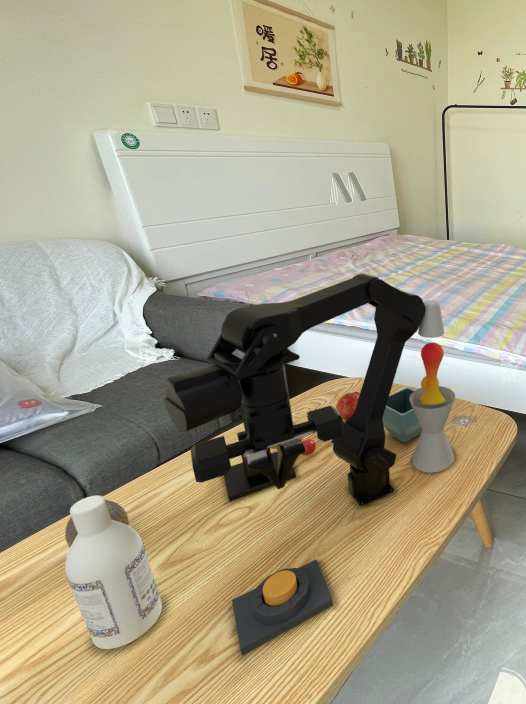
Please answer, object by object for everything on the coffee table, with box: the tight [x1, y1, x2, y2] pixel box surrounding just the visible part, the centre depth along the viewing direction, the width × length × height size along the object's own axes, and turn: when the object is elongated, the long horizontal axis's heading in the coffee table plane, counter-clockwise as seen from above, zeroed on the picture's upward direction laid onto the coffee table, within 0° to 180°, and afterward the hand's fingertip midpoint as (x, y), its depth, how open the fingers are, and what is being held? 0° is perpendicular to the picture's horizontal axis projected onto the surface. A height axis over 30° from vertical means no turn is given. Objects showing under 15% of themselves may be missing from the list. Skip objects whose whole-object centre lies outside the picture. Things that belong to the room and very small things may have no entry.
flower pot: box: [382, 387, 422, 443], centre depth 98 cm, size 9×9×9 cm
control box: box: [231, 558, 334, 656], centre depth 60 cm, size 11×8×3 cm
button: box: [263, 570, 297, 606], centre depth 60 cm, size 4×4×2 cm
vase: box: [64, 499, 130, 549], centre depth 67 cm, size 7×7×9 cm
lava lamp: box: [409, 299, 456, 473], centre depth 86 cm, size 9×9×35 cm
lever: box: [246, 434, 317, 457], centre depth 85 cm, size 13×3×3 cm, turn 128°
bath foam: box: [64, 494, 163, 650], centre depth 54 cm, size 7×7×20 cm
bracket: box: [223, 430, 297, 503], centre depth 83 cm, size 11×9×9 cm
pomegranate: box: [335, 391, 360, 421], centre depth 102 cm, size 7×7×10 cm
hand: (280, 486), depth 66 cm, fingers closed
